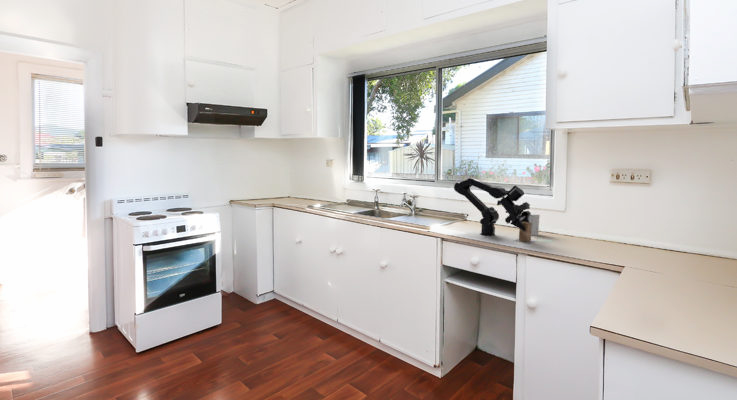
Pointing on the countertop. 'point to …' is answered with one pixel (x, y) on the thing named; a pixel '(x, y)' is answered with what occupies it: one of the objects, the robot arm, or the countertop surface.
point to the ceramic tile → (545, 240)
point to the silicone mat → (525, 242)
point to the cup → (534, 223)
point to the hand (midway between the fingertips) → (528, 229)
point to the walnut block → (525, 232)
